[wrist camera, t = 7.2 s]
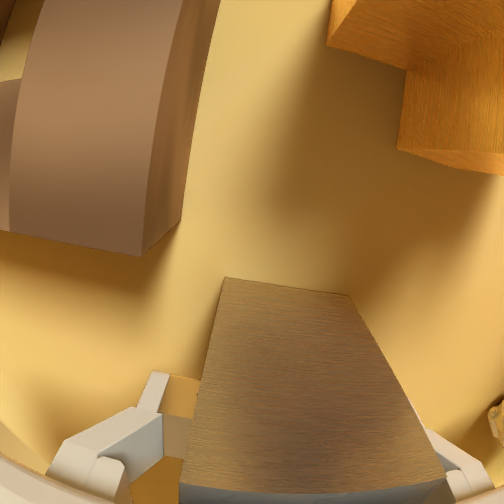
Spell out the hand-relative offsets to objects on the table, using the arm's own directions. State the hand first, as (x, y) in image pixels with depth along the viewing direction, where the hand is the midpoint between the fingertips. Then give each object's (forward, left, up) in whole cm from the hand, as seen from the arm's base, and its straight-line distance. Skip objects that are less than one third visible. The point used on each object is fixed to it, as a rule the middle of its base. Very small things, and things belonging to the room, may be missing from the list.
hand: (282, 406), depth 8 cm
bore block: (+11, +11, -4) cm, 16 cm away
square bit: (0, 0, -4) cm, 4 cm away
